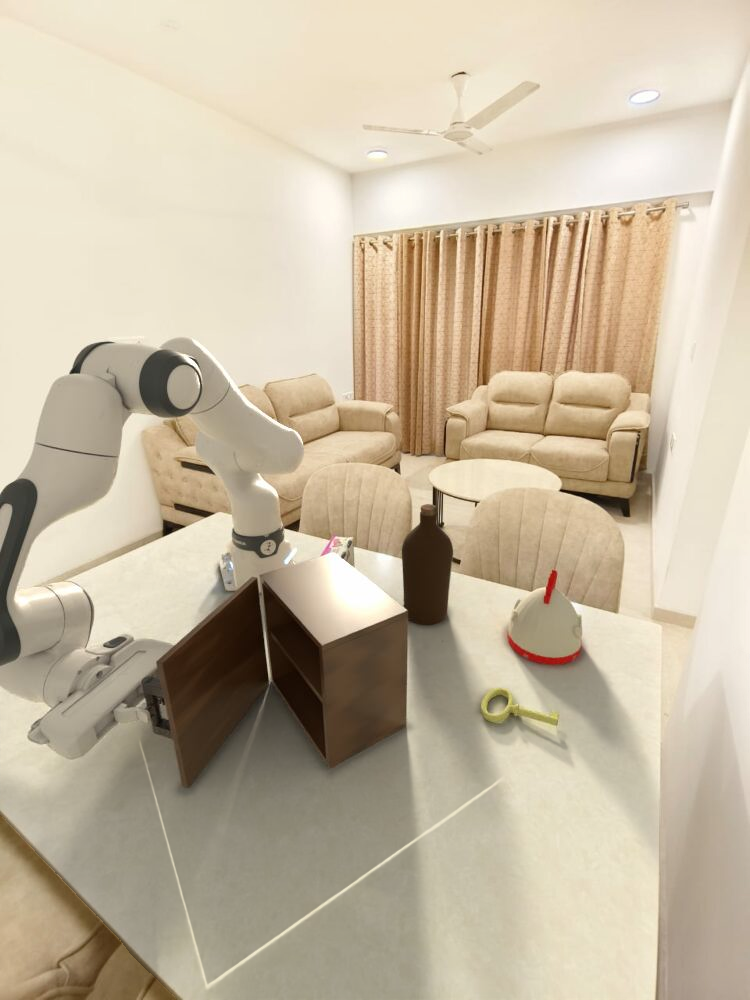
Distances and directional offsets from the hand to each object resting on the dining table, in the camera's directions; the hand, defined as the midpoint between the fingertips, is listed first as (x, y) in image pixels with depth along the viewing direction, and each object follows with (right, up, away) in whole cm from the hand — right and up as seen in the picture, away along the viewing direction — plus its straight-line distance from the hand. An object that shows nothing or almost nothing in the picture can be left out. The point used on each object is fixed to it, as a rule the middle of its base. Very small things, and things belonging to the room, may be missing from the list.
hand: (160, 705), depth 70 cm
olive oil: (+41, +4, +39) cm, 57 cm away
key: (+53, -7, +12) cm, 55 cm away
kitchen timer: (+64, +1, +30) cm, 70 cm away
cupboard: (+23, -6, +15) cm, 28 cm away
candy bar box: (+22, +4, +39) cm, 45 cm away
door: (+4, -7, +11) cm, 14 cm away
